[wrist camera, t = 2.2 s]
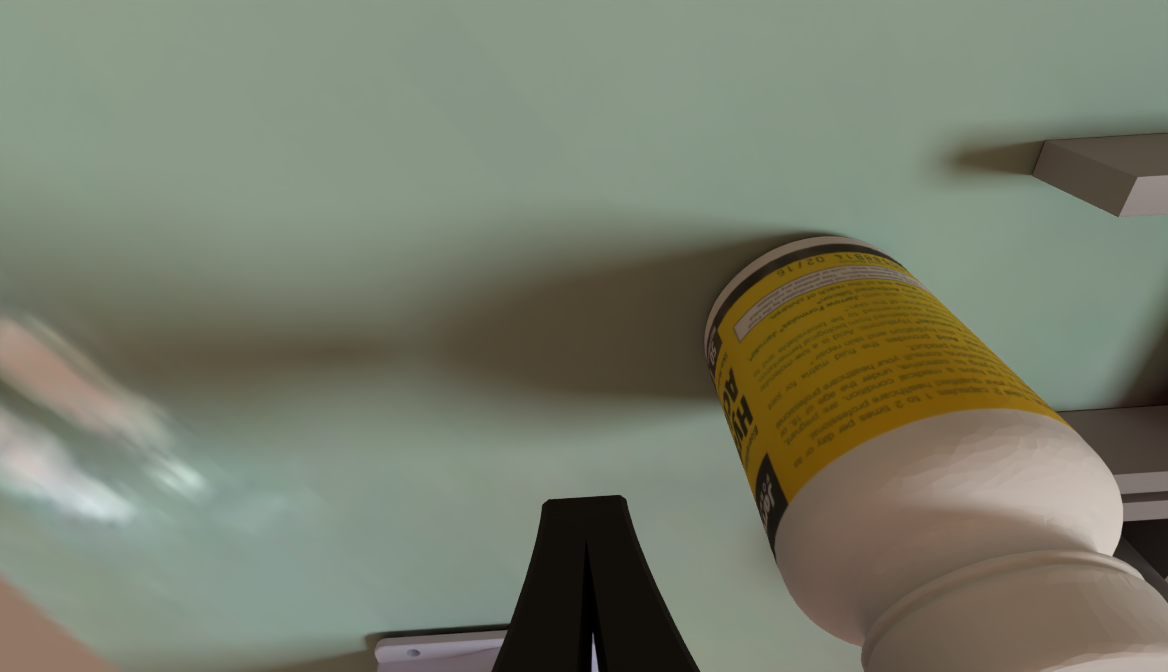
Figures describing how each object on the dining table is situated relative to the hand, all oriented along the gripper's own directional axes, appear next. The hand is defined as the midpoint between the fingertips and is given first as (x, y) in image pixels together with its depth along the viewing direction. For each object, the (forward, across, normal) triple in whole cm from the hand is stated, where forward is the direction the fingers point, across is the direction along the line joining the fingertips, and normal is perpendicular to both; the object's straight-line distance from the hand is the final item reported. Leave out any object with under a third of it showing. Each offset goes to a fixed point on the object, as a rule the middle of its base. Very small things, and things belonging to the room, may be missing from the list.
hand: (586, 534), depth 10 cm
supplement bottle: (+6, -6, 0) cm, 9 cm away
